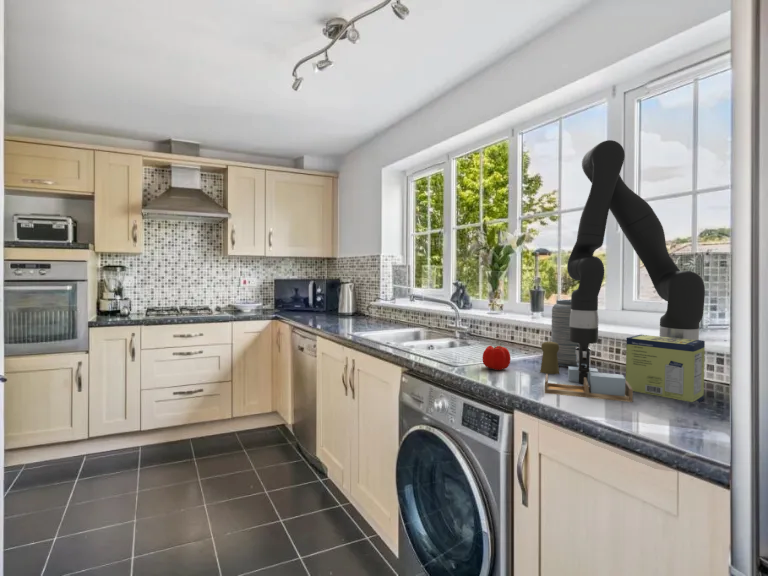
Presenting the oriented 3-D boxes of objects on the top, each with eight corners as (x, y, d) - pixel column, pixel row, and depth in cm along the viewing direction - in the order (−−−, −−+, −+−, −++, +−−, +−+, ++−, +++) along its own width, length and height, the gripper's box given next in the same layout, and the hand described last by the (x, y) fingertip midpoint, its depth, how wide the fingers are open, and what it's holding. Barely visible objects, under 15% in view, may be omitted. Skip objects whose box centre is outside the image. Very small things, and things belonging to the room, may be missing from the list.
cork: (561, 379, 132) (562, 343, 132) (540, 378, 133) (541, 342, 133) (557, 374, 138) (558, 340, 138) (538, 373, 139) (538, 339, 139)
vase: (577, 369, 146) (578, 301, 145) (544, 364, 154) (546, 300, 154) (592, 365, 153) (593, 300, 153) (560, 359, 162) (561, 298, 161)
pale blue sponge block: (622, 394, 111) (622, 374, 111) (624, 398, 107) (625, 378, 106) (589, 390, 113) (590, 372, 113) (590, 395, 109) (591, 375, 109)
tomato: (501, 365, 152) (501, 344, 152) (514, 371, 143) (515, 348, 143) (476, 366, 149) (477, 345, 149) (489, 372, 141) (489, 349, 141)
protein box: (637, 388, 123) (639, 333, 122) (704, 400, 111) (706, 340, 110) (623, 395, 116) (625, 337, 115) (693, 408, 104) (695, 344, 103)
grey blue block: (596, 385, 126) (596, 368, 125) (598, 389, 121) (598, 371, 121) (568, 383, 128) (568, 366, 128) (568, 386, 124) (569, 369, 124)
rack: (626, 398, 112) (626, 380, 112) (632, 408, 104) (632, 389, 104) (545, 390, 120) (545, 373, 120) (544, 399, 111) (544, 381, 111)
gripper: (600, 329, 116) (599, 390, 117) (596, 323, 130) (594, 378, 130) (570, 327, 119) (568, 387, 120) (568, 322, 132) (567, 376, 133)
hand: (582, 382), depth 125 cm, fingers open, 6 cm apart
